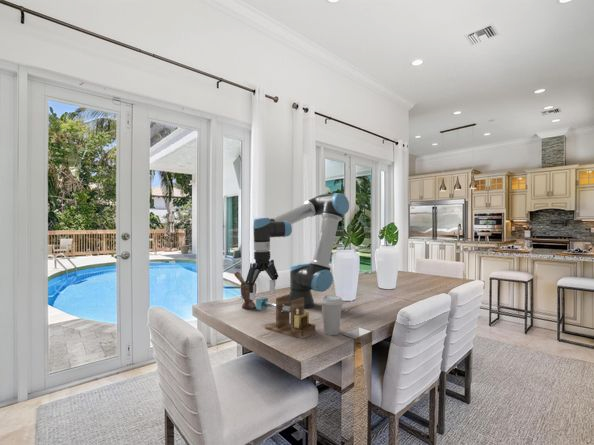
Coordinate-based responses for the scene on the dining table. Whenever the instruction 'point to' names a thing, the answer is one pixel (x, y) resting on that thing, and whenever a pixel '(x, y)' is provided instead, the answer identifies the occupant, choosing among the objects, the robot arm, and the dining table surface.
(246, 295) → the mortar and pestle
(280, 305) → the bracket
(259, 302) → the shaft
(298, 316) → the tan wooden piece
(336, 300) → the coffee cup
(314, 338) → the dining table surface
